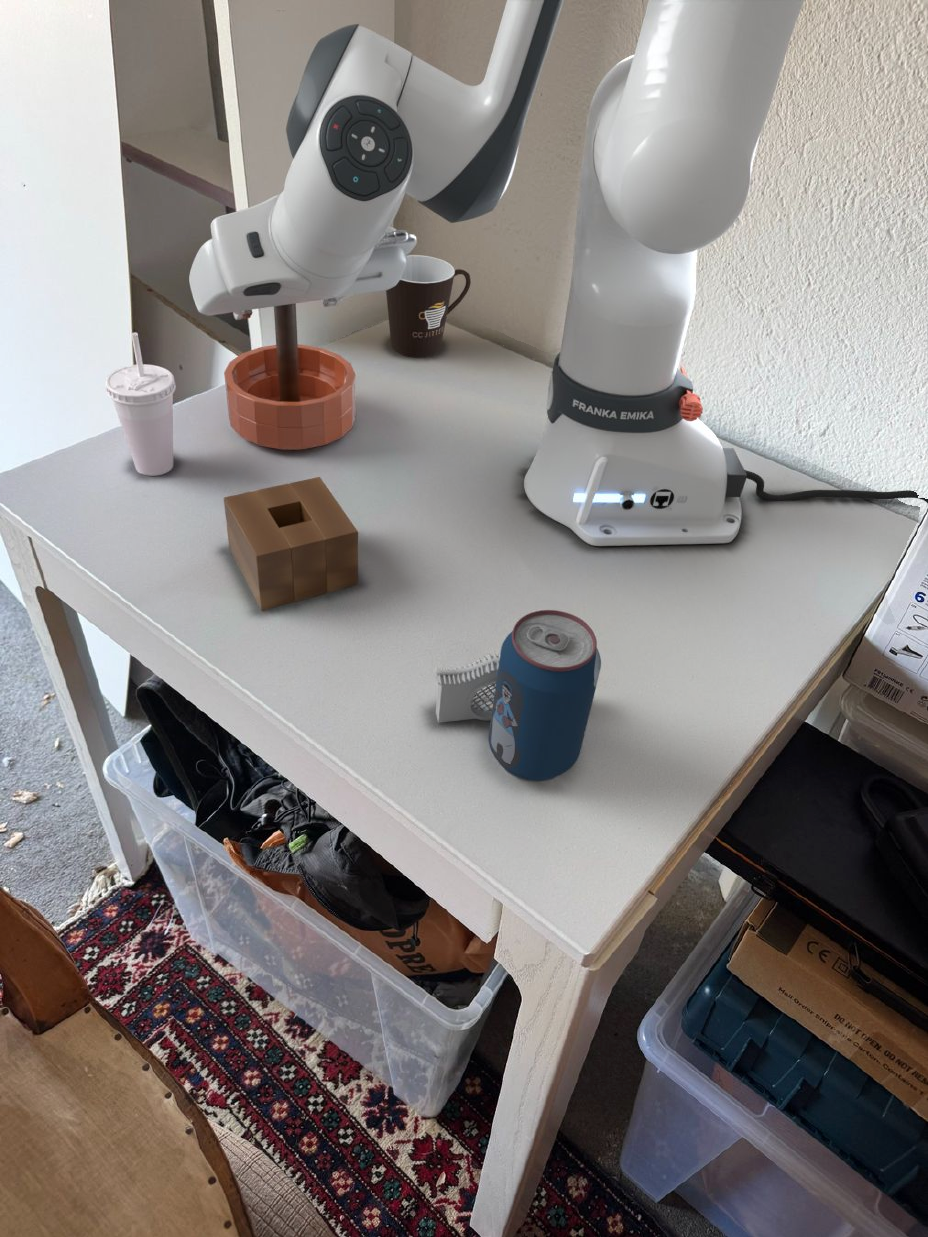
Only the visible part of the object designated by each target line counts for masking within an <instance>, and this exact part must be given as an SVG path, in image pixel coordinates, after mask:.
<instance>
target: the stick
mask: <svg viewBox="0 0 928 1237" xmlns="http://www.w3.org/2000/svg"><path fill="white" fill-rule="evenodd" d="M273 313H274V314H273V315H274V316H273V317H274V330H275V332H274V334H275V345H276V349H277V365H278V380H279V396H280V402H300V384H299V363H298V345H299V343H298V324H297V303H295V304H288V305H281V306H274V307H273Z"/></svg>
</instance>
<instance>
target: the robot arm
mask: <svg viewBox="0 0 928 1237" xmlns="http://www.w3.org/2000/svg"><path fill="white" fill-rule="evenodd" d="M564 1H565V0H506V2H505V6H504V10H503V13H502V17H501V19H500V24H499V27H498V31H497V34H496V37H495V41H494V44H493V48H492V51H491V55H490V58H489V61H488V65H487V68H486V72H485V76H484V79H483V80H482V81H481V83H479V84H477V85H470V84H466V83H463V82H462V81H460V80H458V79H456V78H454V77H452V75H449V74H448V73H446V72H444V71H442V70H441V69H439V68H437V67H436V66H433V65H431V64H430V63H428V62H426V61H424V60H422V59H421V58H419V57H418V56H416V55H414V54H412V52H411V51H409V50H408V49H405V48H404V47H402V46H401V45H399V44H397V43H396V42H393V41H392V40H390V39H388V38H386V37H385V36H382V35H380V34H379V33H377V32H375V31H373V30H372V29H369V28H367V27H364V26H362V25H360V23H355V24H349V25H347V26H342V27H340V28H338V29H336V30H334V31H332V32H330V33H328V34H326V35H325V36H324V37H322V38H320V39H319V40H318V41H317V43H316V44H315V46H314V48H313V50H312V52H311V54H310V56H309V59H308V60H307V62H306V65H305V69H304V71H303V74H302V77H301V81H300V83H299V88H298V91H297V93H296V95H295V98H294V100H293V103H292V106H291V109H290V110H289V114H288V118H287V122H286V128H285V132H286V136H287V137H286V139H287V142H288V149H289V152H290V154H291V157H292V162H291V163H290V166H289V168H288V171H287V174H286V177H285V180H284V186H283V190H282V192H281V193H280V194H277V195H275V196H272V197H270V198H268V199H266V200H264V201H261V202H260V203H257V204H256V205H252V206H250V207H246V208H243V209H240V210H237V211H233V212H229V213H227V214H226V213H225V214H223V215H219V216H216V217H215V218H214V219H212V221H211V223H210V234H211V238H210V239H208V240H207V241H206V242H204V243H203V244H202V245H201V246H200V248H199V250H198V251H197V253H196V255H195V257H194V259H193V262H192V265H191V268H190V272H189V277H188V280H189V281H188V282H189V286H190V291H191V295H192V298H193V301H194V303H195V308H196V309H197V312H198V313H200V314H201V315H204V316H209V317H210V316H216V315H223V314H230V313H232V315H233V317H234V319H235V321H240V320H247V319H250V318H251V317H252V315H253V313H254V312H253V310H259V309H267V308H274V306H281V305H288V304H295V303H296V304H301V303H302V304H303V303H309V302H315V301H322V305H323V306H324V308H331V307H336V306H337V307H338V306H339V305H340V304H341V303H342V301H344V300H345V299H346V300H347V299H348V298H350V297H352V296H358V295H359V296H360V295H366V294H373V293H380V292H386V290H388V289H390V288H392V287H394V286H396V285H397V283H398V282H399V280H400V279H401V277H402V275H403V272H404V270H405V267H406V258H405V255H409V254H410V253H411V252H412V251H413V250H414V248H415V247H416V245H417V244H418V238H417V236H416V235H415V234H414V233H408V231H407V230H405V229H396V228H395V227H392V226H391V225H392V224H393V221H394V220H395V217H396V216H397V214H398V212H399V209H400V208H401V205H402V203H403V200H404V197H405V195H407V196H409V197H411V198H413V199H415V200H417V202H418V204H421V205H422V206H424V207H425V208H426V209H428V210H430V211H431V212H433V213H434V214H436V215H438V216H440V217H441V218H443V220H446V221H447V222H449V223H450V224H455V223H460V222H466V221H469V220H473V219H476V218H479V217H482V216H484V215H487V214H488V213H491V212H492V211H493V210H495V208H496V207H497V205H498V203H499V202H500V200H501V199H502V198H503V196H504V195H505V193H506V191H507V189H508V187H509V184H510V183H511V179H512V177H513V174H514V170H515V166H516V162H517V158H518V153H519V147H520V142H521V138H522V133H523V131H524V127H525V124H526V119H527V116H528V112H529V110H530V107H531V104H532V101H533V96H534V94H535V91H536V88H537V85H538V81H539V79H540V75H541V72H542V69H543V67H544V63H545V60H546V56H547V55H548V51H549V48H550V45H551V42H552V39H553V35H554V33H555V29H556V26H557V23H558V20H559V17H560V14H561V11H562V7H563V5H564ZM804 3H805V0H648V1H647V5H646V9H645V13H644V17H643V21H642V25H641V29H640V33H639V36H638V40H637V44H636V48H635V51H634V54H632V55H630V56H628V57H626V58H623V59H622V60H621V61H619V62H618V63H616V64H615V65H614V66H613V67H612V68H611V69H610V70H608V72H607V73H606V74H605V75H604V77H603V78H602V79H601V82H600V83H599V85H597V86H598V87H597V88H596V89H595V92H594V94H593V97H592V99H591V102H590V105H589V109H588V113H587V119H586V124H585V125H586V126H585V132H584V133H585V134H584V143H583V149H582V150H583V151H582V158H581V159H582V160H581V161H582V162H581V169H580V177H579V178H580V179H579V188H578V199H577V208H576V220H575V231H574V232H575V233H574V243H573V244H574V245H573V257H572V258H573V259H572V271H571V279H570V287H569V293H568V300H567V306H566V313H565V319H564V326H563V330H562V331H563V332H562V337H561V338H562V339H561V345H560V351H559V352H558V353H557V355H556V356H555V358H554V361H553V366H552V370H551V372H550V377H549V383H548V388H547V389H548V390H547V396H546V397H547V399H546V406H545V407H546V408H545V409H546V415H547V418H546V422H545V426H544V429H543V432H542V436H541V439H540V442H539V444H538V448H537V450H536V453H535V455H534V458H533V460H532V462H531V465H530V466H529V468H528V470H527V472H526V474H525V476H524V479H523V488H524V489H523V490H524V492H525V495H526V496H527V499H528V500H529V501H530V503H531V504H532V505H533V506H534V507H535V508H536V509H537V510H539V512H541V513H542V514H543V515H545V516H547V517H548V518H550V519H552V520H554V521H555V522H557V523H560V524H561V525H564V526H565V527H567V528H569V529H570V530H571V531H573V533H574V534H576V535H577V536H578V537H579V538H580V539H581V540H582V541H583V542H585V543H586V544H588V545H591V546H595V547H616V546H623V547H624V546H660V545H661V546H662V545H663V546H666V545H667V546H668V545H708V544H709V545H711V544H715V545H716V544H729V543H731V542H732V541H733V540H734V539H735V538H736V537H737V535H738V533H739V531H740V528H741V522H742V514H743V513H742V512H743V511H742V503H741V499H740V498H741V496H742V493H743V490H744V486H745V484H746V481H747V479H748V480H751V481H752V482H754V483H755V484H756V486H755V495H756V496H757V497H759V498H760V499H761V500H764V501H767V502H791V501H800V500H806V499H812V498H834V499H835V498H837V499H839V498H840V499H867V500H868V499H869V500H898V499H917V500H922V501H924V502H925V503H926V504H928V499H925V498H918V496H919V495H917V493H916V492H914V491H915V490H914V491H911V490H893V491H876V490H875V491H874V490H873V491H872V490H854V489H853V490H852V489H851V490H849V489H809V490H803V491H797V492H796V491H795V492H792V493H787V494H773V493H772V494H771V493H768V492H766V491H764V490H765V480H764V479H763V477H761V476H760V475H759V474H758V473H755V472H753V471H750V470H746V469H745V468H744V466H743V464H742V462H741V460H740V459H739V458H740V457H738V454H737V453H736V450H735V449H734V448H733V447H723V446H722V444H721V442H720V440H719V438H718V437H717V435H716V434H715V433H714V432H713V430H711V429H710V427H708V426H707V425H706V424H705V423H703V421H702V420H700V418H701V417H702V414H704V413H703V412H704V411H703V410H704V409H703V405H702V402H701V398H700V396H699V395H697V394H696V393H694V384H693V381H692V380H691V379H690V378H689V377H688V375H687V371H686V370H685V368H684V366H683V365H680V369H678V367H679V363H680V360H681V359H680V358H681V356H682V352H683V347H684V343H685V339H686V336H687V331H688V328H689V323H690V319H691V315H692V311H693V307H694V303H695V298H696V272H697V271H696V270H697V260H698V259H697V258H698V250H702V249H704V248H707V247H708V246H709V245H711V244H712V243H715V242H716V241H717V240H718V239H720V238H721V237H723V236H724V235H725V234H726V233H727V232H728V231H729V229H730V228H731V227H733V225H734V223H736V221H737V219H738V218H739V216H740V215H741V213H742V211H743V209H744V207H745V205H746V202H747V199H748V196H749V193H750V186H751V180H752V171H753V164H754V159H755V155H756V151H757V147H758V144H759V140H760V138H761V135H762V132H763V129H764V126H765V124H766V120H767V117H768V115H769V111H770V108H771V105H772V101H773V98H774V95H775V92H776V89H777V86H778V82H779V79H780V74H781V73H782V72H781V71H782V68H783V66H784V61H785V58H786V54H787V51H788V48H789V45H790V42H791V38H792V35H793V32H794V29H795V27H796V23H797V22H798V21H797V20H798V19H799V15H800V13H801V11H802V7H803V6H804Z"/></svg>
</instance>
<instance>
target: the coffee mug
mask: <svg viewBox="0 0 928 1237" xmlns="http://www.w3.org/2000/svg"><path fill="white" fill-rule="evenodd" d="M405 258H406V267H405V270H404V272H403V275H402V277H401V279H400V280H399V282H398V283H397V285H396V286H394V287H392V288H390V289H388V290H386V291H385V294H386V295H385V296H386V304H387V315H388V316H387V317H388V326H389V336H390V346H391V348H392V350H393V351H394V352H395V353H396V354H397V353H398V354H399V355H402V356H405V357H408V358H428V357H432V356H435V355H437V354H438V353H439V352H440V351H441V349H442V343H443V338H444V332H445V327H446V321H447V316H448V315H449V314H450V313H451V312H453V310H454V309H455V308H456V307H457V306H459V304H460V303H461V302H462V301H463V299H464V298H465V297H466V295H467V293H468V292H469V290H470V287H471V283H472V282H471V275H470V273H469V272H468V271H466V270H464V269H461V268H460V269H459V268H458V269H455V267H454V266H453V265H452V264H451V263H450V262H447V261H446V260H444V259H441V258H438V257H434V256H430V255H424V254H423V255H422V254H421V255H420V254H407V255H405ZM458 275H462V276H464V279H465V284H464V287H463V290H462V291H461V293H460V294H459V296H458V297H457V298H456V299H455V300H454V301H453V302H452V303H451V304H450V300H451V295H452V290H453V283H454V280H455V277H456V276H458Z"/></svg>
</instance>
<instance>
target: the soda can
mask: <svg viewBox="0 0 928 1237" xmlns="http://www.w3.org/2000/svg"><path fill="white" fill-rule="evenodd" d="M597 641H598V640H597V637H596V635H595V632H594V631H593V629H592V628H591V627H590V625H589V624H588V623H587V622H585V621H584V620H583V619H581V618H580V617H578V616H576V615H575V614H571V613H569V612H566V611H561V610H556V609H554V610H553V609H542V610H535V611H533V612H530V613H527V614H525V615H523V616H522V617H521V618H519V619H518V620H517V622H516V623H515V624H514V626H513V628H512V631H510V632H509V633H508V634H507V635H506V636H505V639H504V640H503V642H502V645H501V647H500V653H499V654H500V660H499V667H498V674H497V681H496V685H495V686H496V688H495V689H494V691H495V693H494V694H495V695H493V696H494V698H493V701H494V702H493V709H492V716H491V721H489V728H488V729H489V731H488V745H489V749H490V751H491V754H492V756H493V757H494V758H495V760H496V761H497V762H498V763H499V766H501V767H502V768H503V769H504V770H505V771H506V772H507V773H508V774H510V775H511V776H513V777H515V778H517V779H519V780H522V781H526V782H533V783H542V782H546V781H551V780H553V779H555V778H557V777H559V776H562V775H563V774H565V773H566V772H568V771H569V770H570V769H571V768H573V767H574V765H575V764H576V763H577V761H578V759H579V758H580V754H581V751H582V747H583V742H584V738H585V734H586V731H587V726H588V722H589V718H590V713H591V710H592V706H593V703H594V702H593V701H594V698H595V693H596V689H597V685H598V682H599V677H600V673H601V669H602V657H601V655H600V652H599V649H598V642H597Z"/></svg>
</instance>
